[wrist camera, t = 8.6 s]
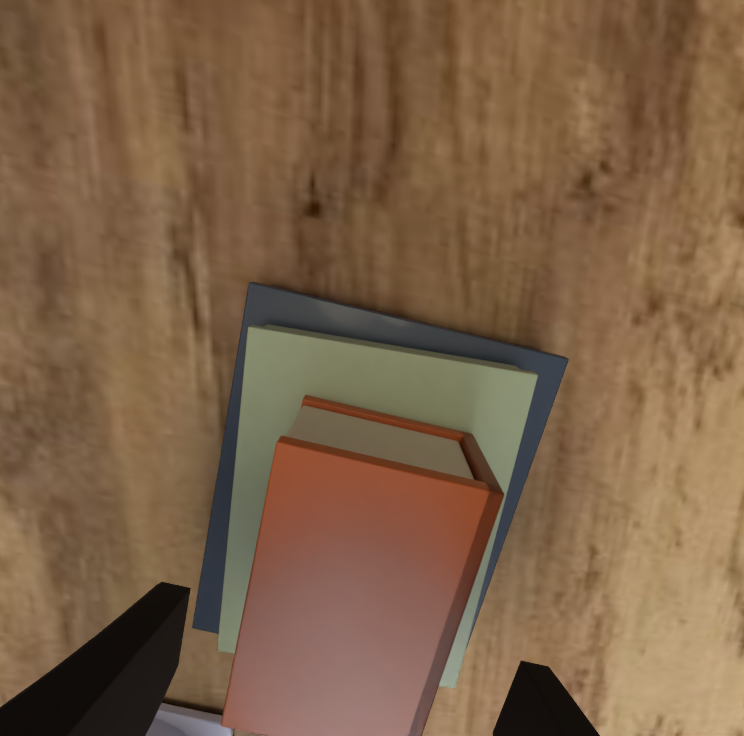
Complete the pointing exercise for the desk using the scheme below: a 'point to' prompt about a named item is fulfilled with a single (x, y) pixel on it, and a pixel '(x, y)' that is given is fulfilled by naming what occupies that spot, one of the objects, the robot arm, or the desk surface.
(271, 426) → the box stack
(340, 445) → the book
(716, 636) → the desk surface
